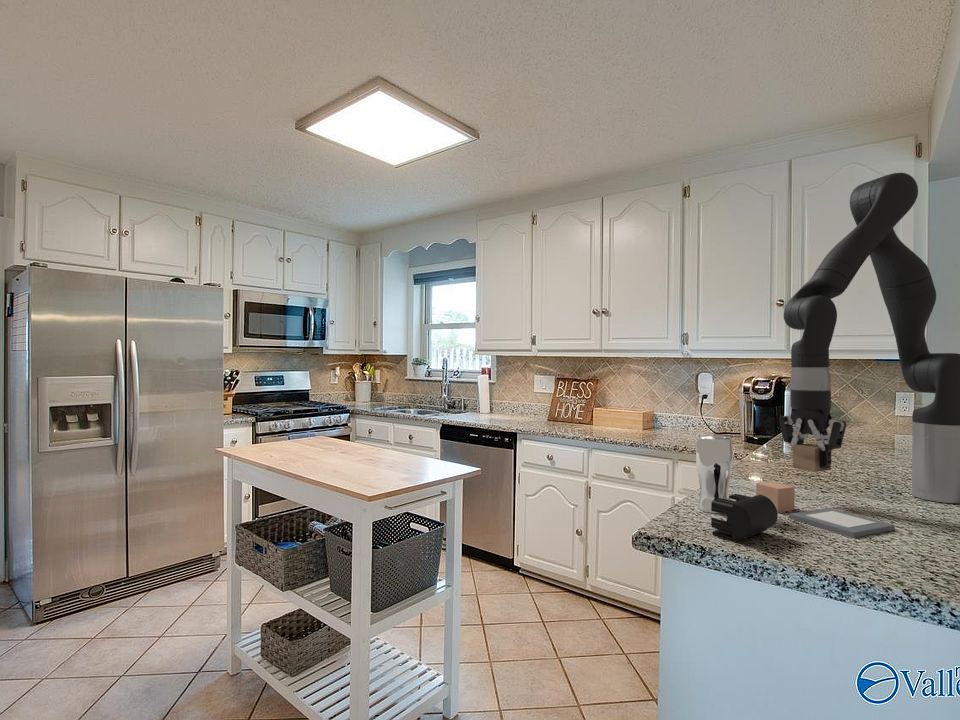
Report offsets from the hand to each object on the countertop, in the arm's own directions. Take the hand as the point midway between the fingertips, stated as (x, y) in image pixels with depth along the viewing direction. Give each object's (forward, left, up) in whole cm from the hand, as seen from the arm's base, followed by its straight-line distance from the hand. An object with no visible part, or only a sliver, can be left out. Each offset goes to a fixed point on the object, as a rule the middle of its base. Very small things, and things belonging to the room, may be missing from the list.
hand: (811, 465), depth 113 cm
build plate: (+9, +12, -8) cm, 17 cm away
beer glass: (+24, -4, -8) cm, 26 cm away
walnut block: (0, 0, -1) cm, 1 cm away
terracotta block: (+11, 0, -8) cm, 14 cm away
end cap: (+32, +10, -9) cm, 35 cm away
